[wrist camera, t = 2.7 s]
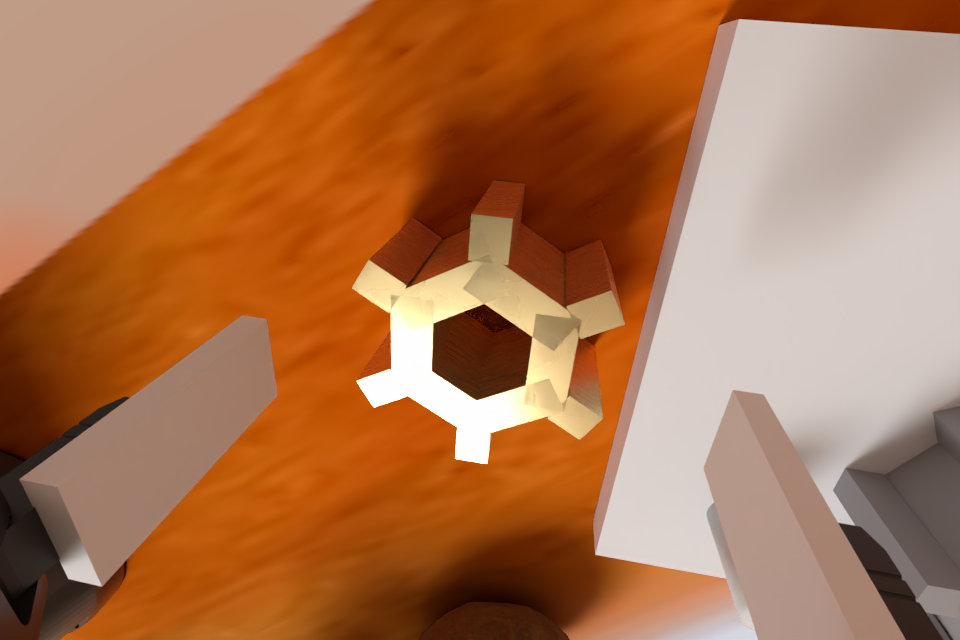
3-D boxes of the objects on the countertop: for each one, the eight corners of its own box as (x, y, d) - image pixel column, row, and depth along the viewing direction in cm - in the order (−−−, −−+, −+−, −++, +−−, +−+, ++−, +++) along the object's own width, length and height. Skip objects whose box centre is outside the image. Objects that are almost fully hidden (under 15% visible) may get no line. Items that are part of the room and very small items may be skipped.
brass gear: (448, 403, 23) (421, 481, 19) (355, 244, 20) (297, 291, 16) (641, 343, 20) (662, 418, 16) (564, 147, 18) (564, 172, 13)
